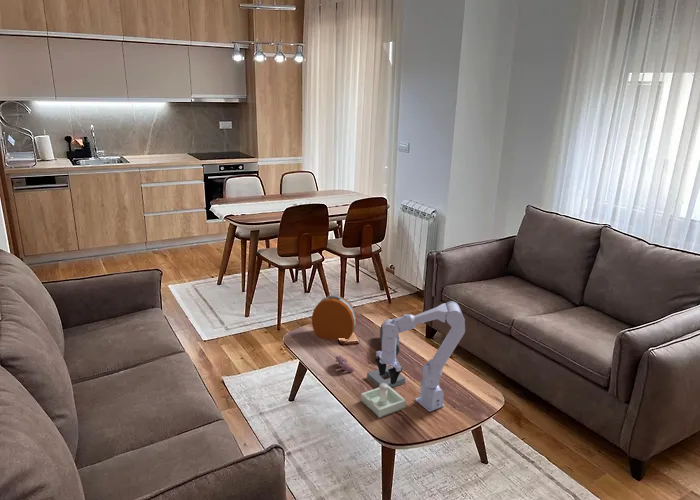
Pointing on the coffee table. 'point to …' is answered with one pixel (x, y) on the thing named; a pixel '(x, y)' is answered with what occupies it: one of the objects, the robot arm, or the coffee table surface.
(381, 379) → the grey square frame
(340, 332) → the alarm clock
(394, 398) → the parts tray
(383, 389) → the cylinder
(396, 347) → the bluetooth speaker
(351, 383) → the coffee table surface
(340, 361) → the video game controller
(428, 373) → the robot arm
